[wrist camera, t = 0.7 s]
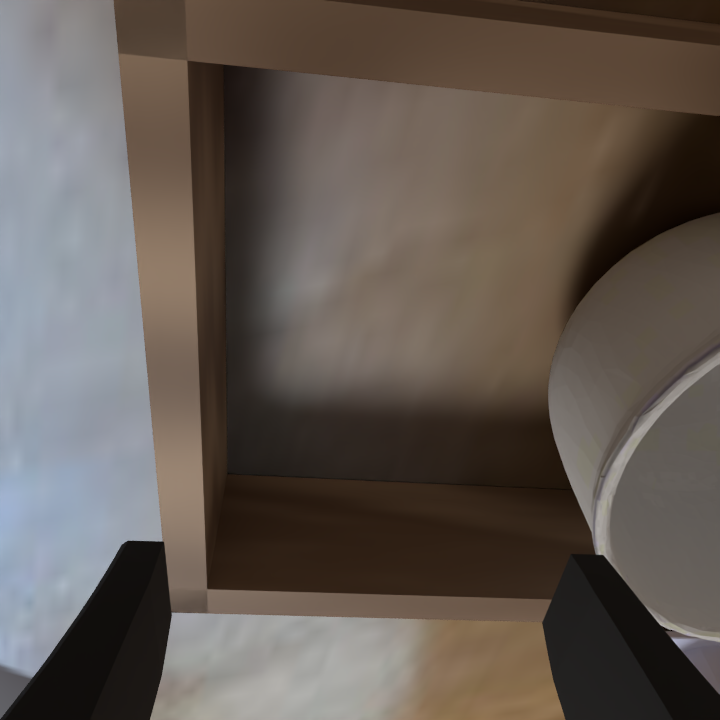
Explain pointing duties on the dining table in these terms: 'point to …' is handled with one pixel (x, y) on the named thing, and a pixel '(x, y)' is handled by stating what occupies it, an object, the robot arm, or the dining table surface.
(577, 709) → the robot arm
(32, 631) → the dining table surface
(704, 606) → the teacup
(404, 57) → the open wooden tray
